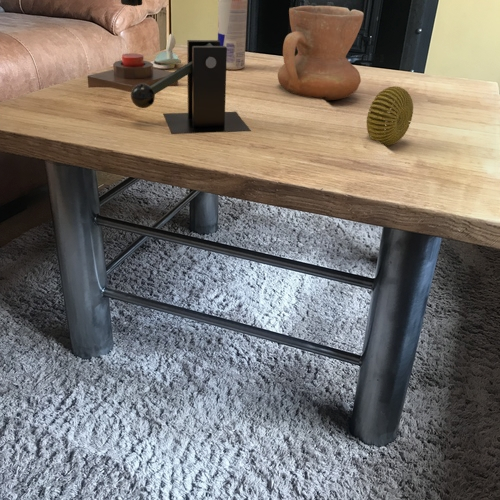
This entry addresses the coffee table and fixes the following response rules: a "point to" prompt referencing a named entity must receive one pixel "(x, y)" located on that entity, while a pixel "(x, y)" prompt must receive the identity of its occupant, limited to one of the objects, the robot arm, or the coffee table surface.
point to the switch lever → (157, 86)
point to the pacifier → (167, 56)
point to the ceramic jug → (320, 52)
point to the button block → (128, 76)
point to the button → (132, 60)
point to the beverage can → (233, 31)
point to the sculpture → (390, 115)
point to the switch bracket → (206, 93)
